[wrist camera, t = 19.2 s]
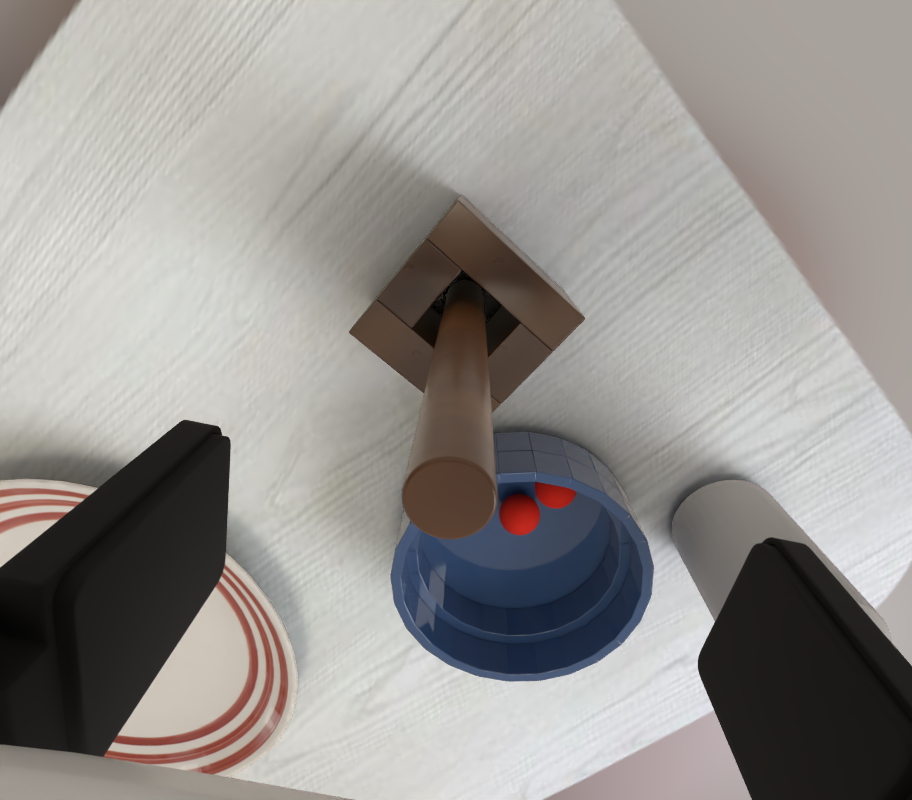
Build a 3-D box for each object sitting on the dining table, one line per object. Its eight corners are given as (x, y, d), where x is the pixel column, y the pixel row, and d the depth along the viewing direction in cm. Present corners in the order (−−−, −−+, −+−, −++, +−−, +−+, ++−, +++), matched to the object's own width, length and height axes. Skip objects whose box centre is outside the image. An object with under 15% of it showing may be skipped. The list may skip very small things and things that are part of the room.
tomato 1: (545, 511, 31) (538, 545, 32) (540, 487, 33) (534, 521, 34) (502, 506, 31) (497, 541, 32) (501, 483, 33) (495, 517, 34)
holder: (565, 291, 30) (586, 318, 24) (472, 387, 32) (472, 433, 26) (461, 194, 28) (457, 199, 22) (371, 303, 30) (348, 332, 25)
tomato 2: (584, 502, 32) (587, 475, 31) (554, 524, 31) (555, 496, 30) (555, 479, 34) (556, 451, 32) (525, 498, 33) (525, 471, 31)
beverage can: (791, 522, 35) (940, 688, 24) (701, 575, 36) (801, 753, 25) (737, 453, 33) (871, 596, 22) (646, 512, 35) (727, 673, 24)
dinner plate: (166, 802, 47) (145, 846, 44) (-147, 614, 40) (-199, 651, 37) (390, 635, 39) (382, 675, 36) (49, 367, 32) (4, 387, 29)
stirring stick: (491, 296, 30) (518, 498, 11) (466, 324, 30) (454, 557, 12) (463, 271, 29) (444, 439, 11) (438, 299, 30) (381, 503, 12)
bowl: (674, 520, 35) (708, 580, 30) (518, 646, 39) (524, 716, 34) (509, 379, 32) (516, 418, 26) (358, 532, 36) (339, 592, 31)
